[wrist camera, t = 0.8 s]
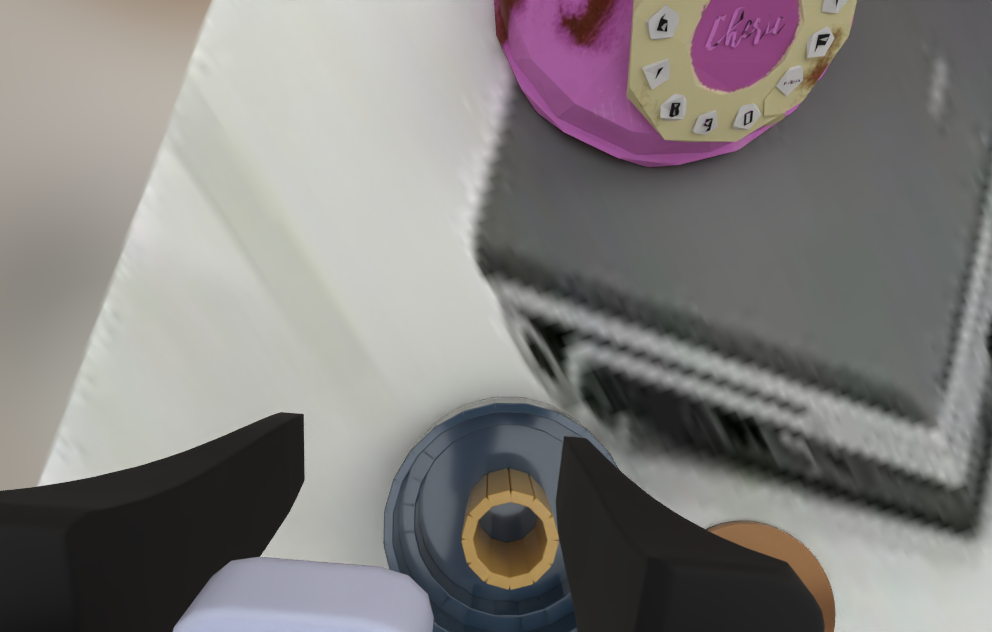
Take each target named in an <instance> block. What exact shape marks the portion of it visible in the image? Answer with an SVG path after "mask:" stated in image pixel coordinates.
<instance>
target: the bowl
mask: <svg viewBox="0 0 992 632" xmlns="http://www.w3.org/2000/svg"><path fill="white" fill-rule="evenodd" d="M564 436H568V437H580V438H587V439H588V440H589V441H590V442H591V443H592V444H593V445H594V446H595V447H596V448H597V449H598V450H599V451H600V452H601V453H602V454H603V455H604V456H605V457H606V458H607V459H608V460H609V461H610V462H611V463H612V464H613V465H615V466H616V467H617V465H616V463H615V462H614V460H613V458H612V456H611V454H610V453H609V452H608V451H607V450H606V449H605V447H604V446H603V445H602V444H601V443H600V442H599V441H598V440H597V439H596V438H595V437H594V436H593V435H592V434H591V433H590V432H589V431H588V430H587V429H586V428H585V427H584V426H583V425H582V424H581V423H579V422H578V421H577V420H576V419H574V418H572V417H571V416H569V415H567V414H566V413H564V412H562V411H561V410H559V409H557V408H556V407H554V406H551V405H549V404H546V403H542V402H539V401H535V400H532V399H528V398H523V397H495V398H494V397H492V398H488V399H484V400H480V401H476V402H472V403H468V404H466V405H464V406H462V407H460V408H458V409H456V410H455V411H453V412H451V413H449V414H448V415H446V416H444V417H442V418H441V419H440V420H438V421H437V422H436V423H435V424H434V425H433V426H432V427H431V428H430V429H429V430H428V431H427V432H426V433H425V434H424V435H423V436H422V437H421V438H420V439H419V440H418V441H417V443H416V444H415V445H414V447H413V448H412V449H411V451H410V452H409V454H408V456H407V457H406V459H405V461H404V462H403V464H402V466H401V467H400V469H399V471H398V472H397V474H396V476H395V477H394V479H393V483H392V486H391V490H390V493H389V496H388V500H387V503H386V507H385V512H384V548H385V553H386V557H387V561H388V565H389V569H390V570H392V571H396V572H399V573H402V574H405V575H408V576H409V577H410V578H412V579H413V580H414V581H415V582H416V583H417V584H418V585H419V586H420V587H421V588H422V589H423V590H424V591H425V592H426V593H427V594H428V597H429V601H430V605H431V609H432V613H433V617H434V619H433V632H577V624H576V618H575V612H574V606H573V602H572V597H571V592H570V588H569V583H568V578H567V574H566V569H565V565H564V560H563V555H562V550H561V546H560V541H559V539H558V541H559V544H558V548H557V551H556V555H555V559H554V562H553V564H551V567H550V568H549V569H548V570H547V571H546V572H545V573H544V574H543V575H542V576H541V577H540V578H539V580H538V581H537V582H534V581H533V584H532V585H528V586H524V587H520V588H517V589H513V590H511V589H510V586H509V589H508V590H507V589H504V588H500V587H497V586H493V585H490V584H487V583H486V581H485V582H484V581H482V580H481V579H480V577H479V576H478V575H477V574H476V573H475V572H474V571H473V570H472V569H471V568H470V567H469V566H468V563H467V562H466V559H465V555H464V550H463V546H462V542H461V539H462V537H461V536H462V530H463V523H464V517H465V511H466V506H467V503H468V499H469V496H470V492H471V490H472V489H473V487H474V486H475V485H476V484H477V483H478V482H479V481H480V480H481V479H482V478H483V477H484V476H485V475H488V473H490V472H494V471H498V470H502V469H506V468H507V469H508V470H509V469H514V470H517V471H521V472H524V473H527V474H528V476H529V475H531V476H532V477H533V478H534V479H535V480H536V482H537V483H538V484H539V485H540V486H541V487H542V488H543V490H544V491H545V493H546V496H547V499H548V502H549V505H550V508H551V511H552V514H553V516H554V520H555V524H556V528H557V532H558V527H557V514H556V494H557V486H558V479H559V471H560V463H561V455H562V447H563V440H564ZM617 468H618V467H617ZM537 517H538V516H537V515H536V514H535V513H534V512H533V511H532V510H531V509H530V508H529V507H526V506H523V505H519V504H516V503H512V502H509V503H505V504H501V505H497V506H493V507H492V508H491V509H489V510H488V511H487V512H486V513H485V514H484V515H483V516H482V517H481V518H480V519H479V524H480V527H481V528H482V529H483V530H484V531H485V532H486V533H487V534H488V535H489V536H490V537H491V538H492V539H496V540H499V541H503V542H506V543H508V542H512V541H516V540H520V539H523V538H524V537H525V536H526V535H527V534H528V533H529V532H530V531H531V530H532V529H533V528H534V527H535V524H536V520H537Z"/></svg>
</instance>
